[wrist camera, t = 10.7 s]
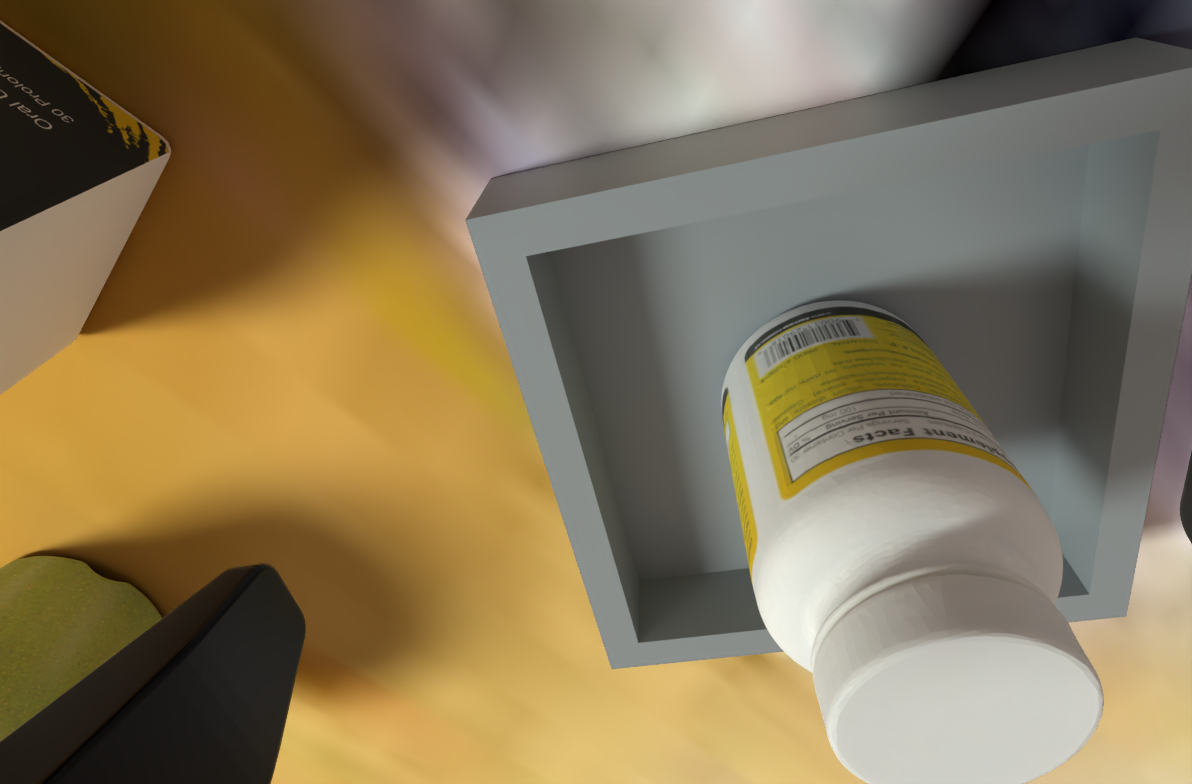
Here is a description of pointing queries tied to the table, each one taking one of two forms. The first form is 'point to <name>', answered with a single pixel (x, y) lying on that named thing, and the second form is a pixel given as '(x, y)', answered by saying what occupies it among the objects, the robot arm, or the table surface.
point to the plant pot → (59, 630)
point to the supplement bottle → (901, 555)
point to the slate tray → (862, 274)
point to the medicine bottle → (61, 200)
